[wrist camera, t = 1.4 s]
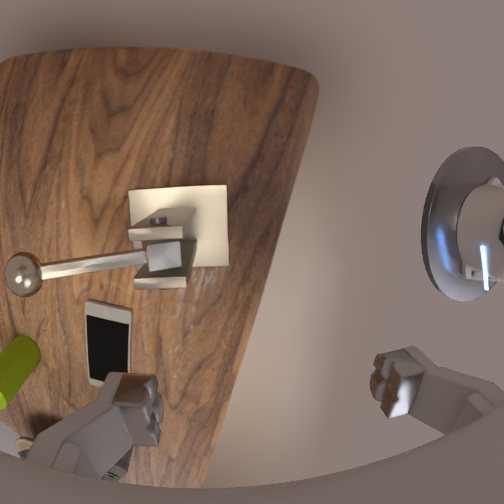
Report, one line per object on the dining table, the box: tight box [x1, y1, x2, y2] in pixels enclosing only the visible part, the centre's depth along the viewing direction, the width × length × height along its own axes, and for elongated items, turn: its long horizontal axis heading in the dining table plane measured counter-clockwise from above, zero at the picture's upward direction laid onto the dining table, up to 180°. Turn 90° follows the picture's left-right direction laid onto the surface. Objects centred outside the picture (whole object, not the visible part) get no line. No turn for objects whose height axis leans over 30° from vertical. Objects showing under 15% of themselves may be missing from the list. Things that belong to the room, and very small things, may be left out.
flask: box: [101, 445, 133, 482], centre depth 35 cm, size 4×14×18 cm, turn 150°
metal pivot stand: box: [128, 184, 229, 290], centre depth 30 cm, size 12×10×15 cm
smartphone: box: [85, 299, 133, 388], centre depth 40 cm, size 7×15×1 cm, turn 168°
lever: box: [5, 239, 182, 297], centre depth 22 cm, size 15×4×4 cm, turn 90°
